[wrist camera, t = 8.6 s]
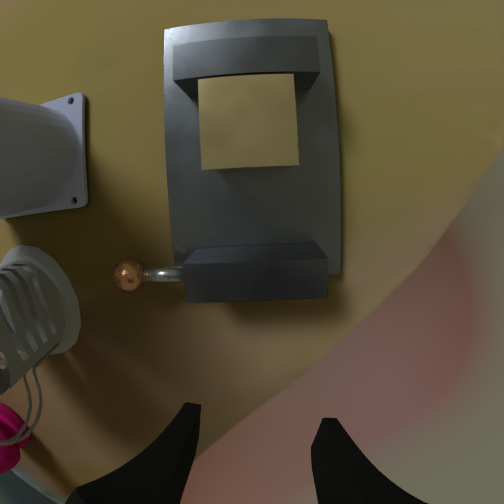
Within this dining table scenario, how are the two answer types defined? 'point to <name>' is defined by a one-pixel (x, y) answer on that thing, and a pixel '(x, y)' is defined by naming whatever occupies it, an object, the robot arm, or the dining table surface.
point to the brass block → (248, 122)
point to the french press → (33, 318)
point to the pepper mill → (5, 427)
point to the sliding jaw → (237, 273)
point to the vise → (253, 180)
